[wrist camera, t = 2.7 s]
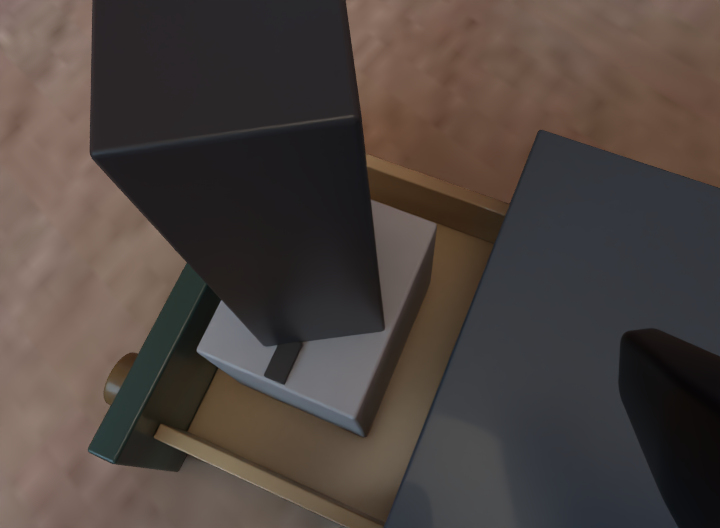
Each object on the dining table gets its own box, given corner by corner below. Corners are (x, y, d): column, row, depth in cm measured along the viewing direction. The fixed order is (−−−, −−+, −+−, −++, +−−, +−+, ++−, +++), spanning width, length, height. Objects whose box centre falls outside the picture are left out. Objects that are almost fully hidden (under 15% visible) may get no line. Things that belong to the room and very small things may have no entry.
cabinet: (370, 567, 19) (356, 597, 13) (503, 225, 22) (539, 127, 16) (822, 781, 17) (1045, 931, 11) (899, 368, 20) (1104, 312, 14)
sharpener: (366, 438, 19) (286, 310, 6) (239, 383, 20) (-67, 166, 7) (431, 281, 20) (476, -91, 8) (310, 234, 21) (166, -175, 8)
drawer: (126, 448, 20) (49, 434, 16) (283, 145, 23) (254, 62, 19) (556, 652, 18) (607, 703, 13) (668, 284, 21) (738, 225, 16)
